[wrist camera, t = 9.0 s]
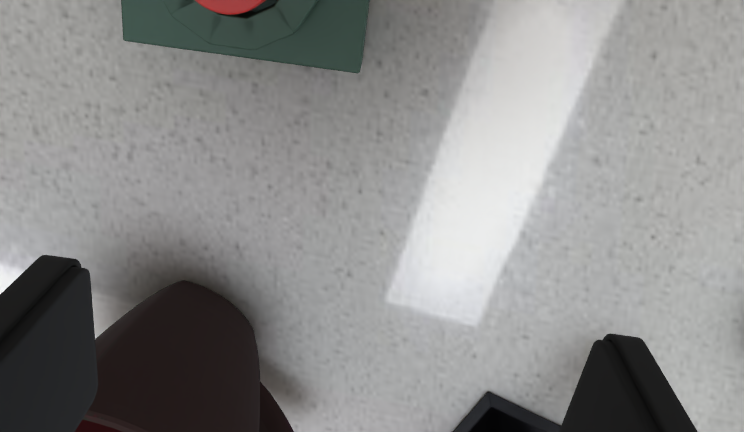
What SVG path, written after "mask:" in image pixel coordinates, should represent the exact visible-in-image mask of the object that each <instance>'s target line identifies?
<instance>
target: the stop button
mask: <svg viewBox="0 0 744 432" xmlns="http://www.w3.org/2000/svg"><path fill="white" fill-rule="evenodd" d="M195 1H196V2H197V3H199V4H200V5H202V6H203V7H205V8H207V9H209V10H211V11H213V12H216V13H220V14H227V15H234V14H241V13H245V12H247V11H250V10H252V9H254V8H255V7H257V6H258V5H260V4H262V3H263V2H264V1H266V0H195Z"/></svg>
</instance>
